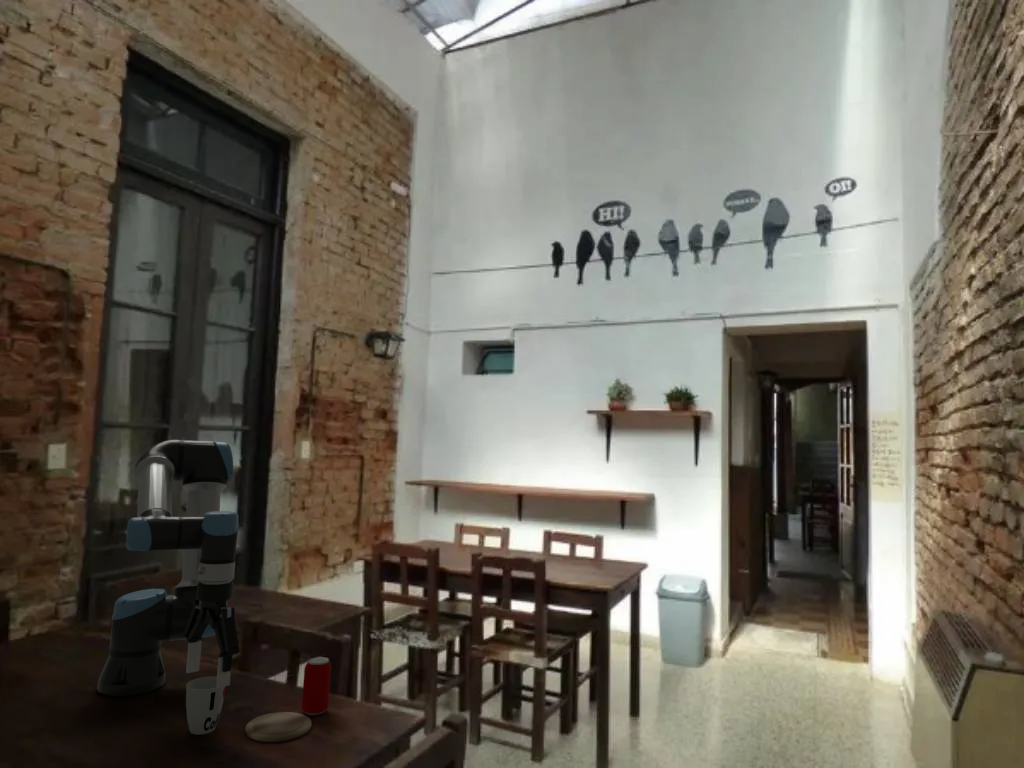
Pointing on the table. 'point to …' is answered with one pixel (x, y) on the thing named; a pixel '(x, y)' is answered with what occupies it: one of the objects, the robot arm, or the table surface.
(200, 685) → the cup
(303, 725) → the plate
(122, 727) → the table surface
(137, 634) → the robot arm
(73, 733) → the table surface
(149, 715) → the table surface
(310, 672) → the beverage can
